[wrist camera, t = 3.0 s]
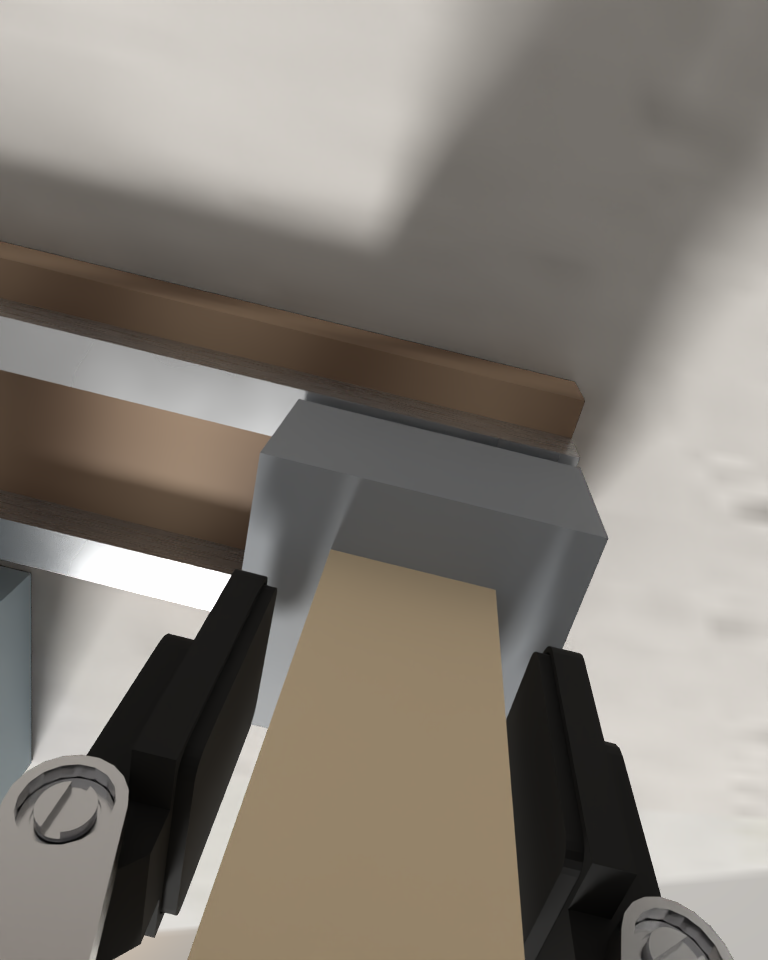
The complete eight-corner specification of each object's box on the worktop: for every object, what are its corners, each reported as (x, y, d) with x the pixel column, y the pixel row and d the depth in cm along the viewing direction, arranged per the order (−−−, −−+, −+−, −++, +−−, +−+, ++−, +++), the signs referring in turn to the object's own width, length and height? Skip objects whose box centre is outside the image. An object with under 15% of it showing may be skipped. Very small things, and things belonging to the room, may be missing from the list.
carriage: (580, 467, 14) (788, 992, 5) (498, 686, 17) (539, 1297, 8) (298, 398, 14) (9, 799, 5) (258, 628, 17) (18, 1166, 8)
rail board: (575, 382, 16) (594, 418, 14) (483, 642, 20) (486, 708, 17) (-351, 155, 17) (-492, 152, 14) (-286, 452, 20) (-391, 492, 18)
